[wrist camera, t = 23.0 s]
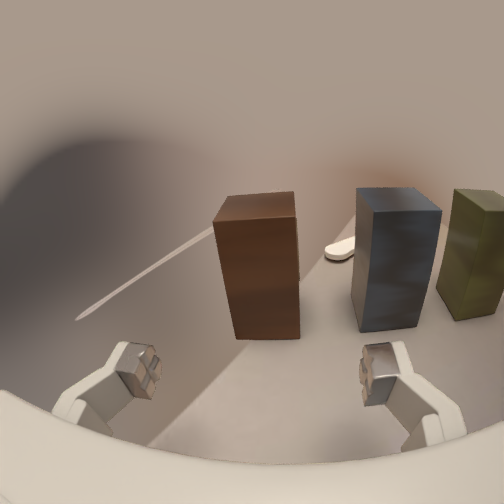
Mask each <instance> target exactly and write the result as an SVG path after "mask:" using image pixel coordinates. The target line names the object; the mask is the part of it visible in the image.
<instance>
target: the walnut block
mask: <svg viewBox="0 0 504 504" xmlns="http://www.w3.org/2000/svg"><path fill="white" fill-rule="evenodd" d="M213 227H214V232H215V237H216V243H217V248H218V254H219V259H220V263H221V269H222V274H223V279H224V284H225V289H226V294H227V298H228V303H229V308H230V312H231V318H232V322H233V327H234V331H235V336H236V339H238V340H267V339H300V307H299V281H300V280H299V279H300V276H299V251H298V232H297V218H296V214H295V200H294V192H293V191H292V192H275V193H261V194H248V195H236V196H228V197H227V198H226V200H225V202H224V203H223V205H222V207H221V208H220V210H219V212H218V213H217V215H216V217H215V218H214V220H213Z"/></svg>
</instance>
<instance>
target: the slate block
mask: <svg viewBox="0 0 504 504" xmlns="http://www.w3.org/2000/svg"><path fill="white" fill-rule="evenodd" d="M441 216H442V210H441V209H440V208H439V207H438V206H436V205H435V204H434V203H433V202H432V201H430V200H429V199H428V198H427V197H425V196H424V195H423V194H422V193H420V192H419V191H418V190H417V189H415V188H356V227H355V248H354V263H353V276H352V288H351V297H352V301H353V305H354V309H355V313H356V317H357V321H358V325H359V329H360V332H372V331H382V330H392V329H401V328H409V327H416V326H417V323H418V320H419V317H420V313H421V310H422V307H423V303H424V299H425V296H426V292H427V288H428V284H429V280H430V275H431V271H432V267H433V262H434V257H435V252H436V247H437V241H438V236H439V229H440V223H441Z"/></svg>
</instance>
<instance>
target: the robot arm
mask: <svg viewBox="0 0 504 504" xmlns="http://www.w3.org/2000/svg"><path fill="white" fill-rule="evenodd" d="M362 353H363V358H362V359H361V360H360V365H359V377H360V383H361V384H362V385H363V386H364V387H363V390H362V396H363V403H364V406H374V405H383V404H385V406H386V407H387V408H388V409H389V410H390V411H391V412H392V414H393V415H394V416H395V417H396V418H397V419H398V420H399V422H400V423H401V424H402V425H403V426H404V427H405V428H406V430H407V431H408V432H409V433H410V434H411V435H410V436H409V437H408V439H407V440H406V441H405V443H404V444H403V445H402V446H401V452H402V453H397V454H391V455H386V456H380V457H374V458H367V459H359V460H351V461H341V462H328V463H310V464H266V463H247V462H235V461H225V460H216V459H208V458H201V457H195V456H189V455H183V454H178V453H173V452H168V451H163V450H159V449H154V448H150V447H146V446H142V445H138V444H134V443H131V442H127V441H124V440H120V439H117V438H114V437H112V435H113V431H112V429H111V428H110V427H109V426H108V425H107V424H106V423H107V422H108V421H109V420H111V419H112V418H113V417H114V416H115V415H116V414H117V413H118V412H119V411H121V410H122V409H123V408H124V407H125V406H126V405H127V404H128V403H129V402H130V401H132V400H133V399H134V397H136V398H142V399H148V400H151V399H152V397H153V394H154V392H155V389H156V386H155V382H157V381H158V380H159V379H160V377H161V374H162V364H161V361H160V359H159V358H158V357H157V356H156V355H154V354H155V349H154V347H153V346H152V345H146V344H139V343H131V342H124V341H121V342H119V343H118V344H117V345H116V347H115V349H114V351H113V352H112V354H111V356H110V357H109V359H108V361H107V363H106V364H105V366H104V368H100V369H98V370H96V371H95V372H93V373H92V374H90V375H89V376H87V377H86V378H84V379H82V380H81V381H79V382H78V383H76V384H75V385H73V386H72V387H70V388H68V389H67V390H65V391H64V392H63V393H62V394H61V396H60V397H59V399H58V401H57V403H56V404H55V406H54V408H53V410H52V411H51V413H49V412H46V411H44V410H42V409H40V408H38V407H36V406H34V405H32V404H30V403H28V402H26V401H24V400H22V399H21V398H18V397H17V396H15V395H13V394H12V393H10V392H8V391H6V390H0V504H504V420H502V421H500V422H498V423H495V424H493V425H491V426H488V427H486V428H483V429H480V430H478V431H475V432H472V433H470V434H468V433H467V429H466V426H465V423H464V419H463V416H462V413H461V410H460V407H459V405H457V404H456V403H455V402H454V401H452V400H451V399H450V398H449V397H447V396H446V395H445V394H444V393H442V392H441V391H440V390H439V389H438V388H436V387H435V386H434V385H433V384H431V383H430V382H429V381H428V380H426V379H425V378H424V377H423V376H421V375H420V374H419V373H415V372H414V369H413V366H412V363H411V360H410V357H409V355H408V352H407V349H406V346H405V343H404V342H403V341H395V342H386V343H378V344H369V345H364V347H363V351H362Z"/></svg>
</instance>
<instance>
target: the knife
mask: <svg viewBox="0 0 504 504" xmlns="http://www.w3.org/2000/svg"><path fill="white" fill-rule="evenodd" d="M354 248H355V236H354V237H351V238H348V239H345V240H342V241H339V242H337V243H334V244H331V245H329V246H327V247H326V248H325V256H326V257H327V258H329V259H332V260H343V259H346V258H348V257H349V256H351V255H352V254H354Z"/></svg>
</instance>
